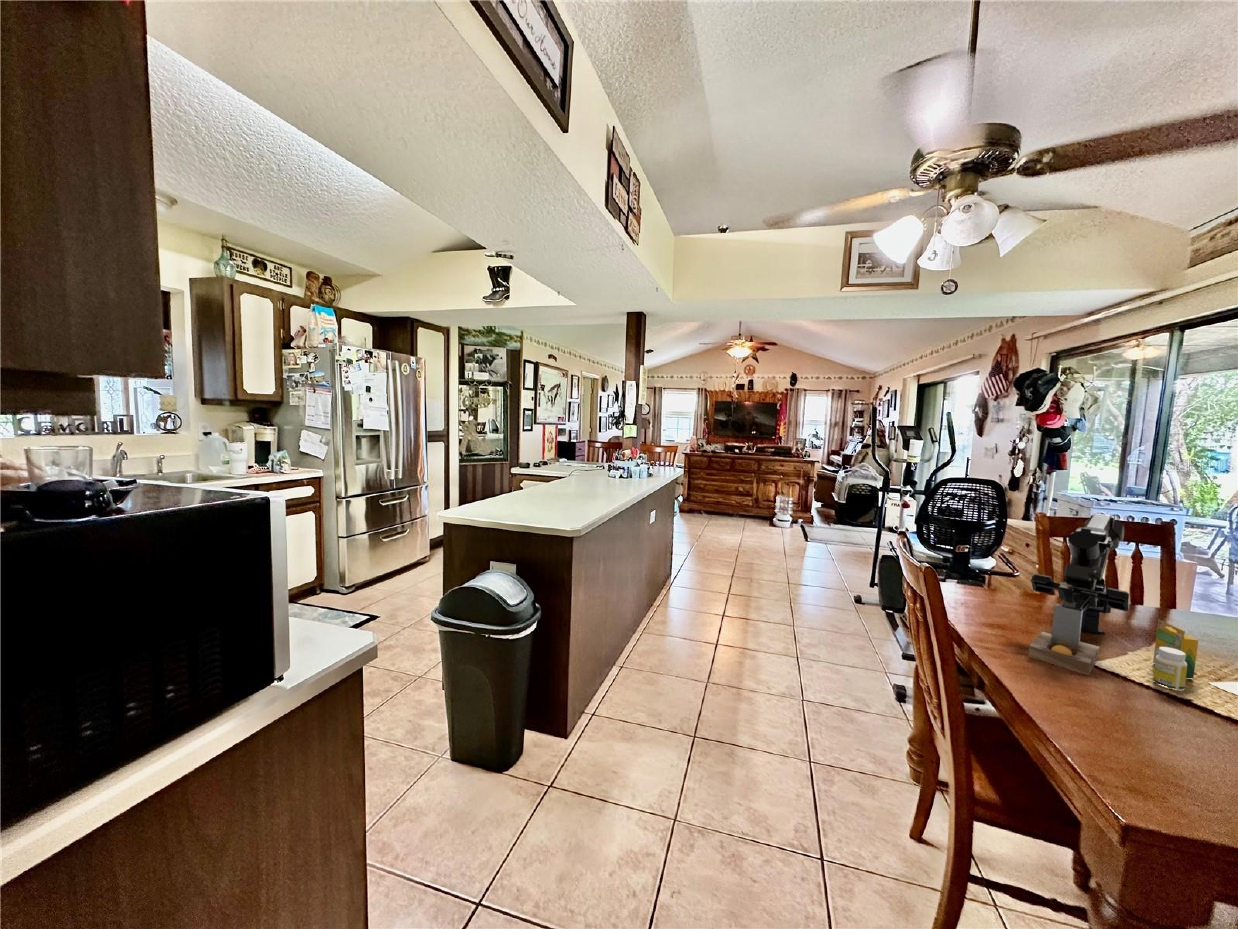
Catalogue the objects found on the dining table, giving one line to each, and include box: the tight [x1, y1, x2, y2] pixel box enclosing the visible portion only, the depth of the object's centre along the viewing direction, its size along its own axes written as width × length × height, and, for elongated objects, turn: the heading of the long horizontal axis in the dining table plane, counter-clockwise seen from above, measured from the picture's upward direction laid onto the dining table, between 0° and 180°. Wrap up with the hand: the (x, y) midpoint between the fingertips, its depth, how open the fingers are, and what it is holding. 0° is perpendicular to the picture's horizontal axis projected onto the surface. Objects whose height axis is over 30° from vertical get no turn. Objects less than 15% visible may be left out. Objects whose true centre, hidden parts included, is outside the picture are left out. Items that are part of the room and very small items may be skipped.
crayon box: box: [1152, 619, 1199, 679], centre depth 114 cm, size 7×3×12 cm, turn 166°
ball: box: [1051, 645, 1072, 655], centre depth 119 cm, size 4×4×4 cm
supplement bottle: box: [1152, 647, 1187, 690], centre depth 108 cm, size 5×5×8 cm
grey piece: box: [1051, 600, 1083, 650], centre depth 121 cm, size 2×5×11 cm, turn 38°
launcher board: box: [1027, 631, 1100, 676], centre depth 121 cm, size 14×11×3 cm
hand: (1071, 618), depth 124 cm, fingers closed
